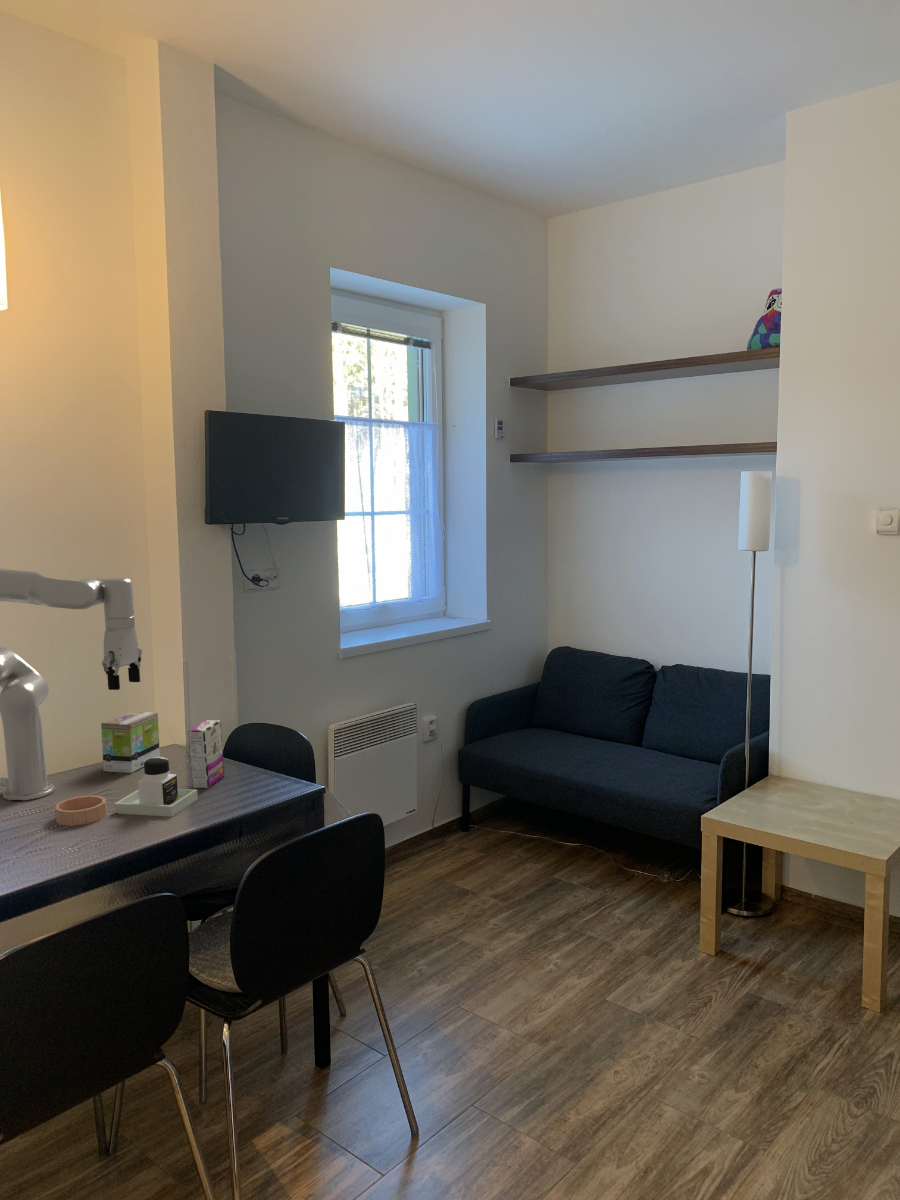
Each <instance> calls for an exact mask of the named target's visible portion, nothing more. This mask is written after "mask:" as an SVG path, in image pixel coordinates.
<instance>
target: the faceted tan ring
mask: <svg viewBox="0 0 900 1200" xmlns="http://www.w3.org/2000/svg"><path fill="white" fill-rule="evenodd" d="M54 813H55V822H56V823H57V824H59V825H61V826H69V825H75V826H81V825H82V824H83V825H87V824H92V823H95V822H98V820H99V821H100V820H102V819H103V818H105V817H107V813H108V809H107V799H106V798H105V797H103V796H101V795H84V796H83V795H82V796H81V795H80V796H76V797H71V798H68V799H64V800H62V801H60V802H58V803H57V804H56V805H55V808H54ZM91 822H92V823H91Z"/></svg>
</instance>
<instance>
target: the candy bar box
mask: <svg viewBox="0 0 900 1200" xmlns="http://www.w3.org/2000/svg"><path fill="white" fill-rule="evenodd" d="M188 744H189V755H190V766H191V767H190V768H191V777H192V778H191V780H192V788H193V789H210V788H211V787H213V786H214V785H215V784H216V783H217V782H219V781H220V780H221V779H222V778H224V777H225V776H226V775H225V765H224V764H225V761H224V754H223V753H224V751H223V738H222V725H221V720H217V719H208V720H207V719H206V720H204V721H202V722H201V723H199V724H197V725H196V726H194V727H192V728H191V729H190V730H188ZM224 775H225V776H224ZM223 776H224V777H223ZM221 777H222V778H221ZM220 778H221V779H220ZM219 779H220V780H219ZM218 780H219V781H218ZM215 782H216V783H215ZM214 783H215V784H214ZM213 784H214V785H213ZM209 787H210V788H209Z"/></svg>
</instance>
